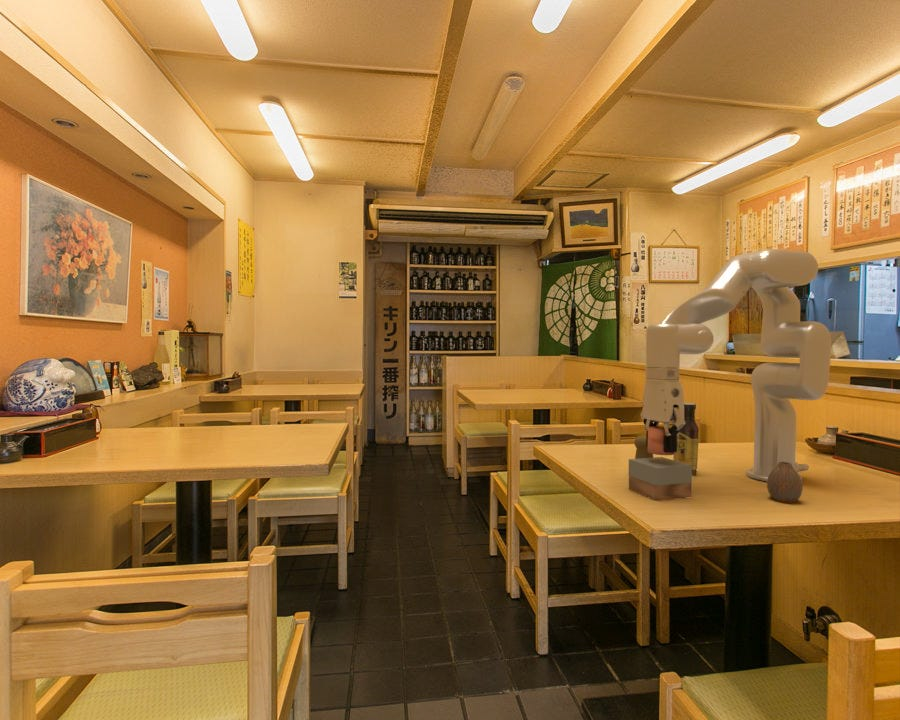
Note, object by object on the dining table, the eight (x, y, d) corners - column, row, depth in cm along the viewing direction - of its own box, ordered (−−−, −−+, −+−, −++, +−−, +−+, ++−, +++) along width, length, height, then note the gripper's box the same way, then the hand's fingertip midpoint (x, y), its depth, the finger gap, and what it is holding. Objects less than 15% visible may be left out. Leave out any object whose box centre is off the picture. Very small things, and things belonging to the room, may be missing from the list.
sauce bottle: (668, 470, 144) (670, 401, 144) (689, 470, 145) (690, 401, 145) (681, 476, 138) (682, 404, 137) (702, 475, 138) (704, 404, 138)
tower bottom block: (663, 488, 127) (663, 472, 127) (691, 499, 118) (691, 482, 118) (628, 490, 125) (629, 474, 125) (654, 502, 115) (654, 485, 115)
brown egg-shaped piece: (803, 506, 112) (804, 467, 111) (766, 501, 115) (767, 463, 115) (801, 499, 117) (802, 461, 117) (766, 494, 121) (767, 458, 121)
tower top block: (661, 472, 127) (661, 456, 127) (691, 482, 118) (691, 465, 118) (628, 475, 124) (628, 459, 124) (656, 485, 114) (657, 468, 114)
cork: (657, 479, 134) (658, 439, 133) (634, 478, 135) (634, 438, 135) (653, 474, 139) (654, 435, 139) (630, 473, 141) (631, 434, 140)
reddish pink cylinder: (663, 449, 125) (663, 425, 124) (680, 454, 119) (680, 429, 119) (642, 450, 123) (642, 426, 123) (658, 455, 117) (658, 430, 117)
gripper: (701, 376, 113) (699, 456, 113) (653, 373, 130) (652, 442, 130) (672, 377, 111) (671, 457, 112) (627, 373, 128) (626, 443, 128)
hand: (661, 448), depth 121 cm, fingers closed on reddish pink cylinder, 5 cm apart
